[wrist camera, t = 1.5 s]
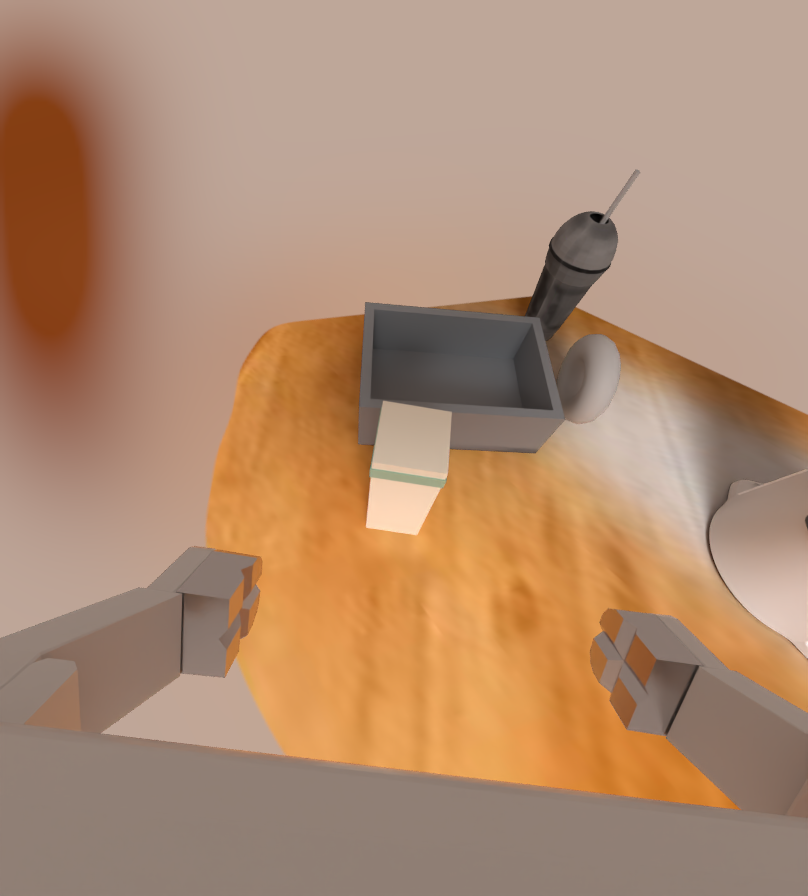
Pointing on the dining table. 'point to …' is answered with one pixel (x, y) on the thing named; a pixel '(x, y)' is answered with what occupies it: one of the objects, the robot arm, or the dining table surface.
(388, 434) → the juice carton
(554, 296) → the beverage cup
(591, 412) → the donut
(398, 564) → the dining table surface
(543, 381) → the box
